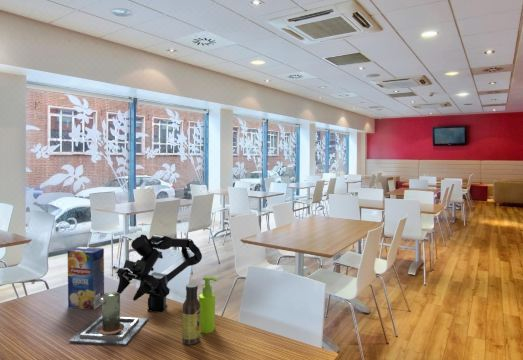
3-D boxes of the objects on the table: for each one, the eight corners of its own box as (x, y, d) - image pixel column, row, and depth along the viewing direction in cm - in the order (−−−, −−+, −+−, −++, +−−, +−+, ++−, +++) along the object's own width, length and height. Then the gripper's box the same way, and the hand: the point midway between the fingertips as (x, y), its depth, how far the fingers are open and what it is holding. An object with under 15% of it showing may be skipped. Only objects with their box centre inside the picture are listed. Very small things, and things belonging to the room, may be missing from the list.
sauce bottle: (200, 344, 129) (201, 288, 128) (182, 346, 128) (182, 289, 126) (199, 335, 135) (200, 281, 134) (181, 337, 134) (182, 282, 132)
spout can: (112, 322, 142) (112, 290, 141) (123, 326, 139) (123, 293, 138) (94, 331, 135) (94, 297, 134) (105, 335, 132) (105, 300, 131)
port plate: (147, 320, 147) (147, 315, 147) (125, 346, 127) (125, 341, 127) (98, 317, 148) (98, 313, 148) (69, 342, 128) (68, 337, 128)
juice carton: (104, 302, 162) (104, 248, 161) (93, 309, 155) (93, 252, 153) (79, 300, 165) (79, 246, 163) (68, 307, 157) (67, 250, 156)
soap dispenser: (214, 334, 136) (215, 280, 135) (196, 332, 138) (196, 279, 136) (219, 327, 142) (220, 275, 141) (202, 325, 144) (202, 274, 142)
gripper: (120, 247, 150) (96, 282, 142) (153, 255, 141) (130, 292, 132) (135, 262, 158) (113, 296, 149) (168, 270, 149) (147, 306, 140)
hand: (125, 297), depth 142 cm, fingers open, 9 cm apart
